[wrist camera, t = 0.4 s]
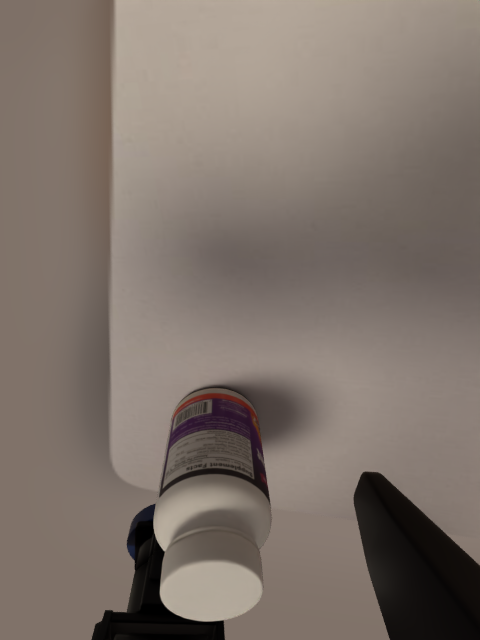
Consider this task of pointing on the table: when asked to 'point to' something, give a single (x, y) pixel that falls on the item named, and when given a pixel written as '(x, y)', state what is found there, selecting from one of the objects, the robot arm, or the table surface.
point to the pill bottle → (212, 508)
